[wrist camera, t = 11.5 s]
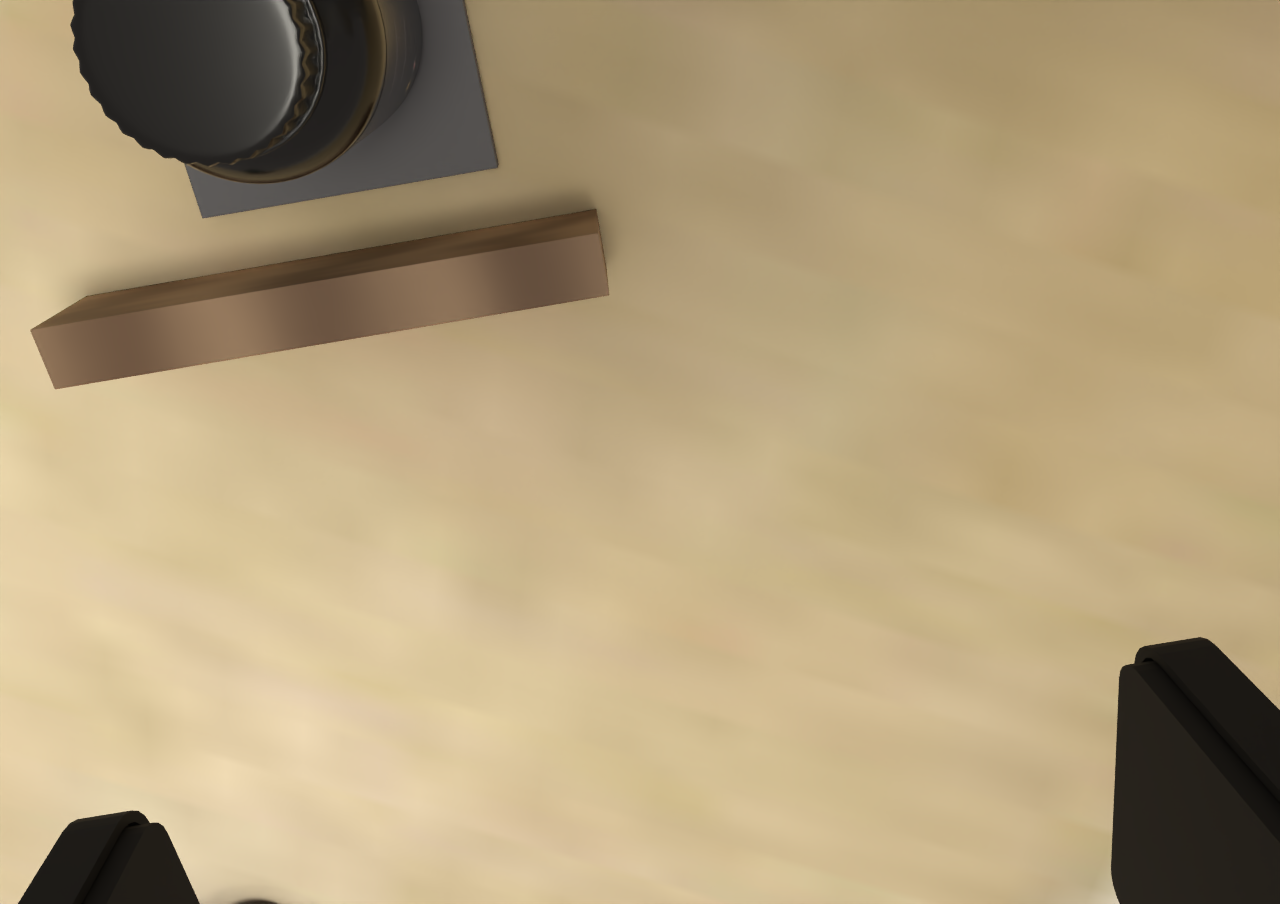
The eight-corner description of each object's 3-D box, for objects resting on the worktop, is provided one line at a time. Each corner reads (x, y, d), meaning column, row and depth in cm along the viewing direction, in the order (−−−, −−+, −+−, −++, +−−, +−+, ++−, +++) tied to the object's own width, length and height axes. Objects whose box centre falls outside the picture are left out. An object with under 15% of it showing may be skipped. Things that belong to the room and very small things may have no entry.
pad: (427, -175, 31) (424, -178, 30) (498, 165, 35) (497, 167, 34) (99, -117, 31) (90, -119, 30) (208, 215, 35) (202, 218, 34)
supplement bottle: (177, 82, 33) (-25, 124, 22) (244, -138, 30) (55, -217, 19) (383, 178, 34) (291, 263, 23) (462, -25, 32) (401, -38, 21)
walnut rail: (596, 209, 36) (598, 233, 32) (606, 265, 36) (609, 295, 33) (86, 296, 36) (30, 329, 32) (107, 350, 37) (55, 389, 33)
